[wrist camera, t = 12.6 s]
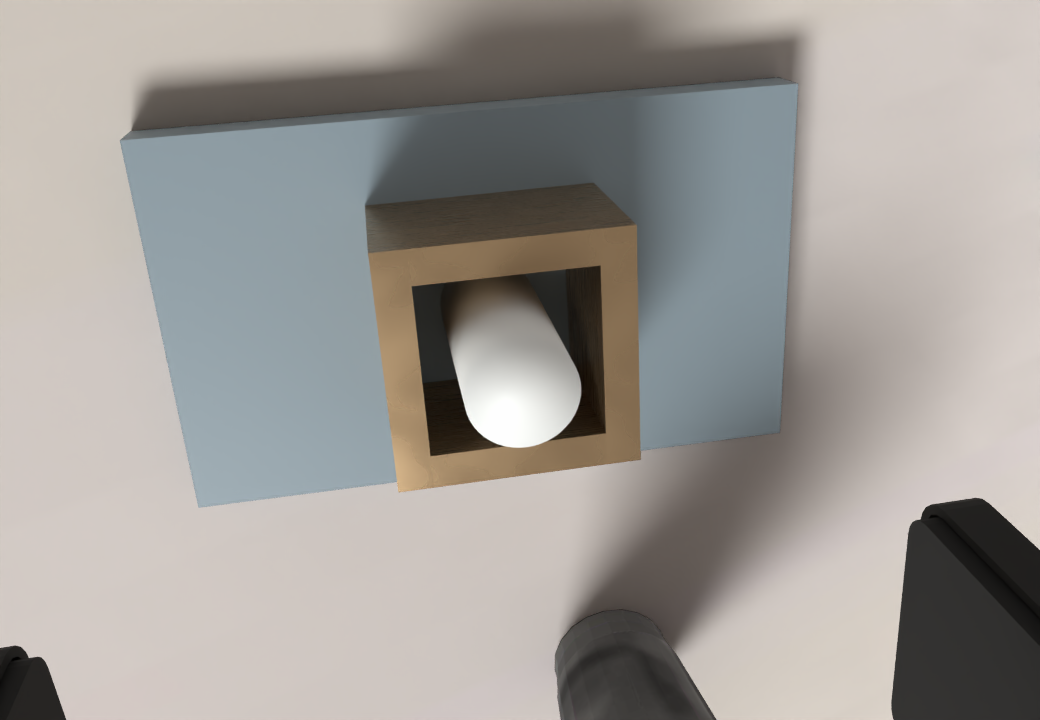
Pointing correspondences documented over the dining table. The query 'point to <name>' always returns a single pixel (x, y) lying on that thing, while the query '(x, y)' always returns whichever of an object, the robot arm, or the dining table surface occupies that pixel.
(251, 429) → the post board
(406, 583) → the dining table surface
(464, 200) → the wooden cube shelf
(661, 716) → the beverage cup
